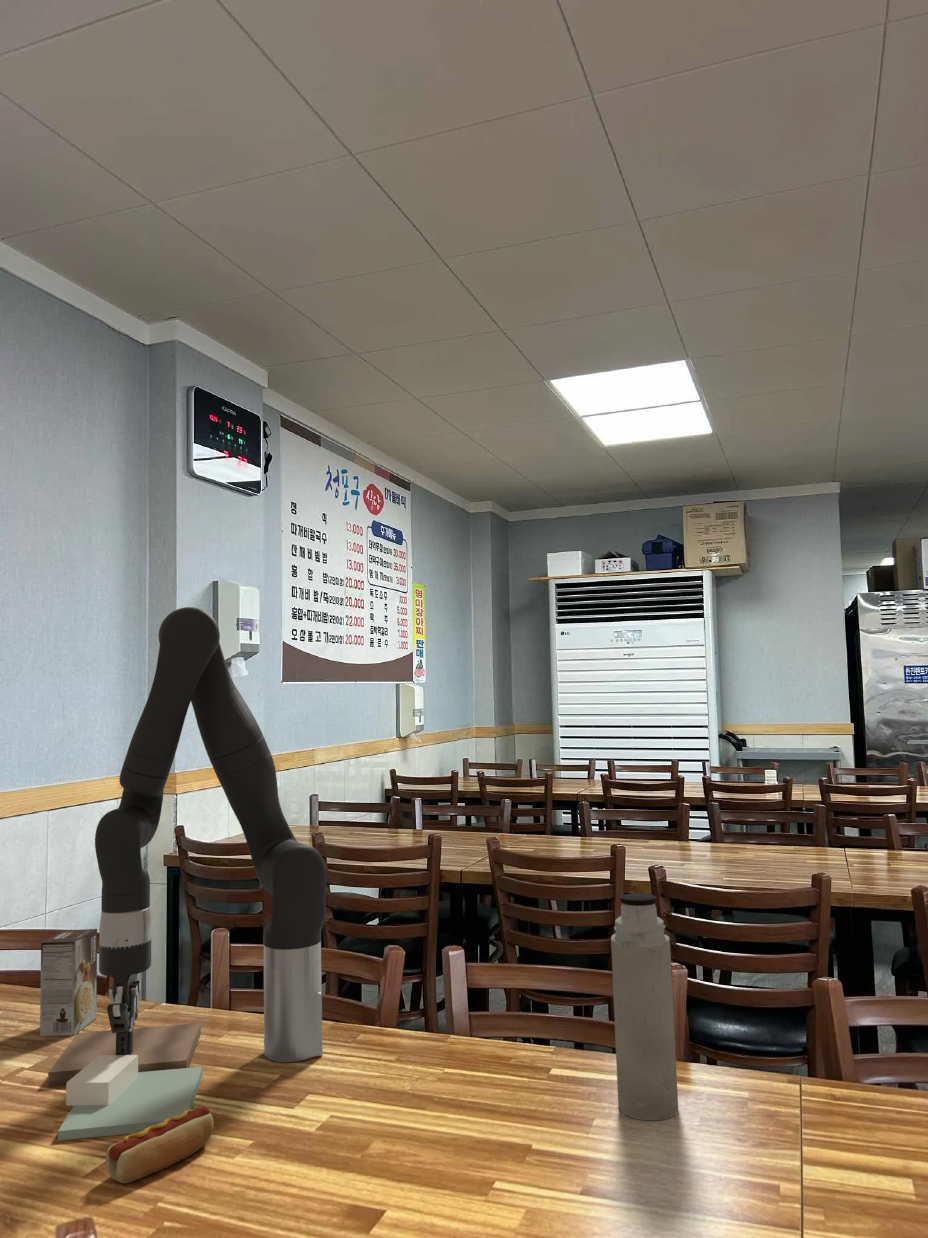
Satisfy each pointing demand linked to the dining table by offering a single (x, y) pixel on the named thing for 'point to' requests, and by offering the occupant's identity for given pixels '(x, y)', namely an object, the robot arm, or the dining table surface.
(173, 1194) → the dining table surface
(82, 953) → the coffee box
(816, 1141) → the dining table surface
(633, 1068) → the thermos bottle
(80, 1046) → the plate
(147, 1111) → the mat
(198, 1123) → the food
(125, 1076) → the white rectangular block
